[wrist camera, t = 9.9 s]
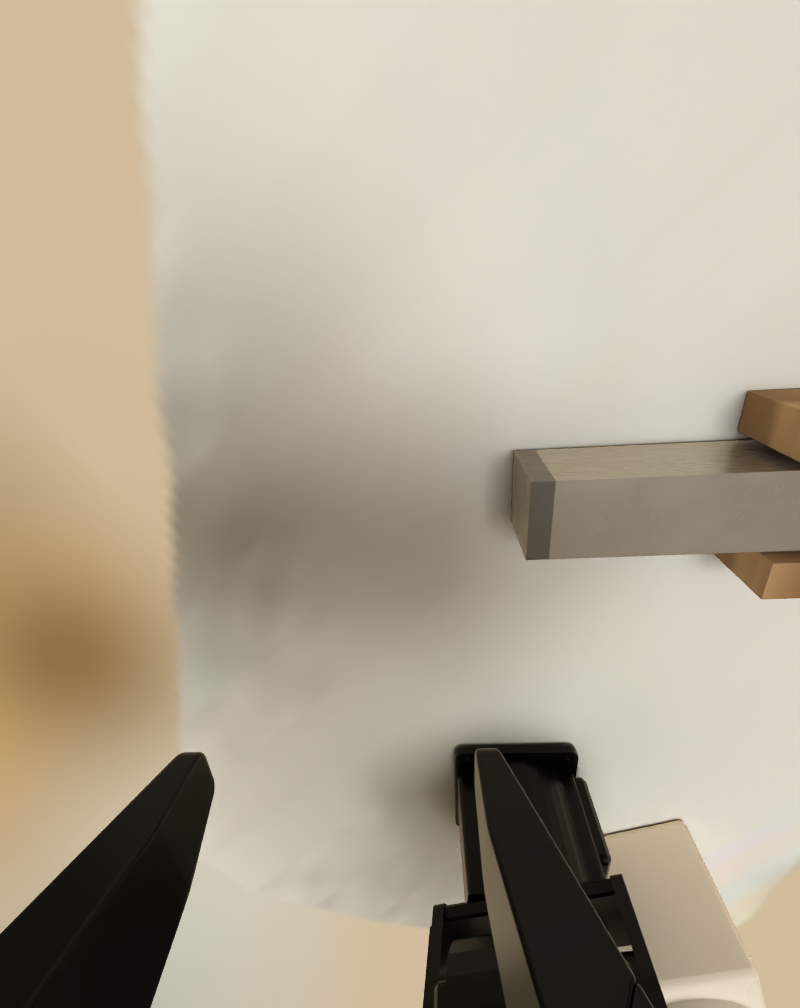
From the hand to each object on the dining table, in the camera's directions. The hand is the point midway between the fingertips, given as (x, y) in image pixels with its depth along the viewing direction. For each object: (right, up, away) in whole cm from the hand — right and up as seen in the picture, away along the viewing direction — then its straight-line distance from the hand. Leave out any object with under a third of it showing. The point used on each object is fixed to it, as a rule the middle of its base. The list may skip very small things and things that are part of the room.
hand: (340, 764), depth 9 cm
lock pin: (+12, +6, +10) cm, 17 cm away
